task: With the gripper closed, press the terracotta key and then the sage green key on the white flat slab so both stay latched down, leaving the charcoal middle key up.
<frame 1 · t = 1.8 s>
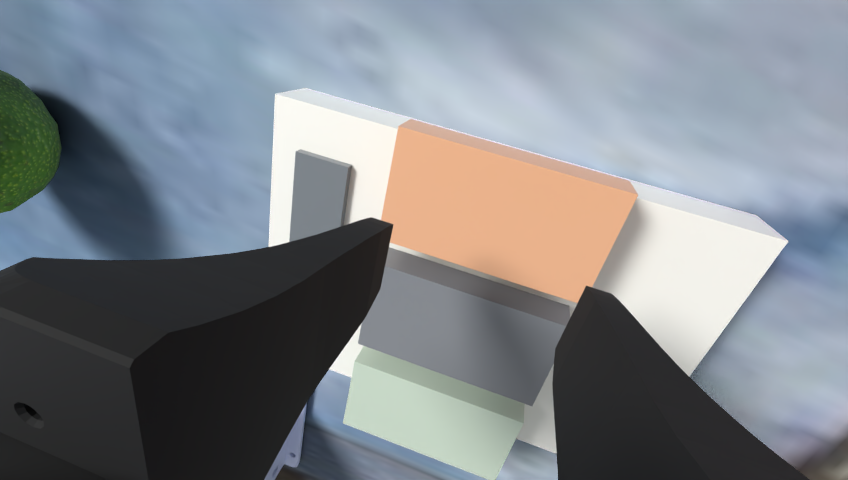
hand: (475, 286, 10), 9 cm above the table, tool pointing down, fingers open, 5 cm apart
key sage: (430, 410, 20), point 4 cm above the table, slide at 0.0 cm
key terracotta: (496, 211, 15), point 4 cm above the table, slide at 0.0 cm
key charcoal: (458, 325, 18), point 4 cm above the table, slide at 0.0 cm
white flat slab: (472, 278, 21), on the table
avocado: (50, 122, 24), on the table
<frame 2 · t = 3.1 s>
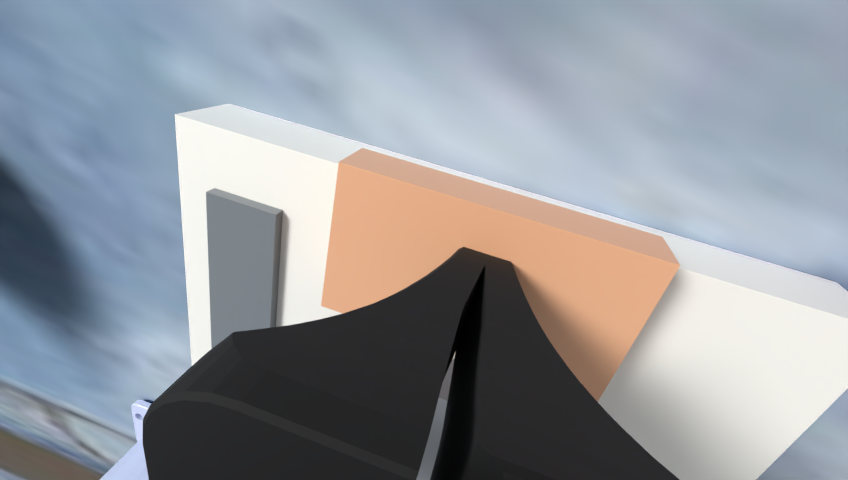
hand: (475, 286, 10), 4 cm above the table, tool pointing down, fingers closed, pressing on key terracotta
key terracotta: (478, 274, 11), point 3 cm above the table, slide at 0.7 cm, touching gripper
key charcoal: (427, 426, 13), point 4 cm above the table, slide at 0.0 cm
white flat slab: (451, 345, 17), on the table
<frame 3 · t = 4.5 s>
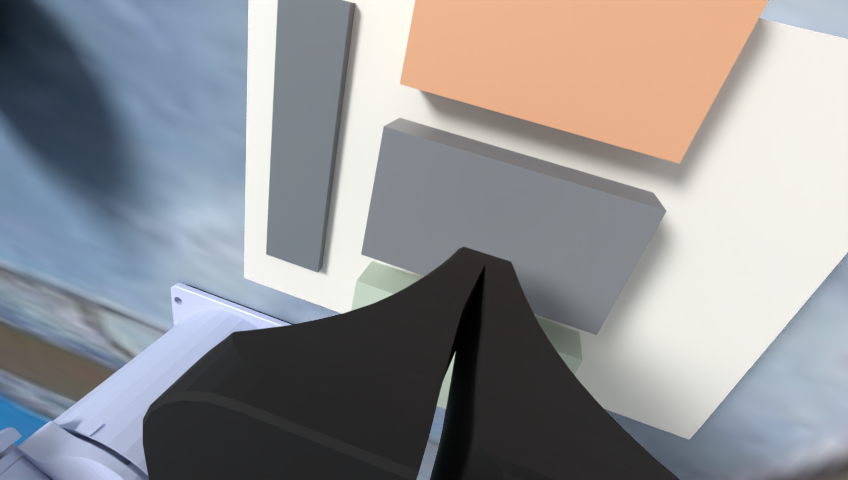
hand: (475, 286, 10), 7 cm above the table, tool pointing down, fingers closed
key sage: (453, 351, 16), point 4 cm above the table, slide at 0.0 cm
key terracotta: (562, 36, 11), point 3 cm above the table, slide at 0.8 cm, touching white flat slab
key charcoal: (497, 225, 13), point 4 cm above the table, slide at 0.0 cm
white flat slab: (507, 186, 17), on the table
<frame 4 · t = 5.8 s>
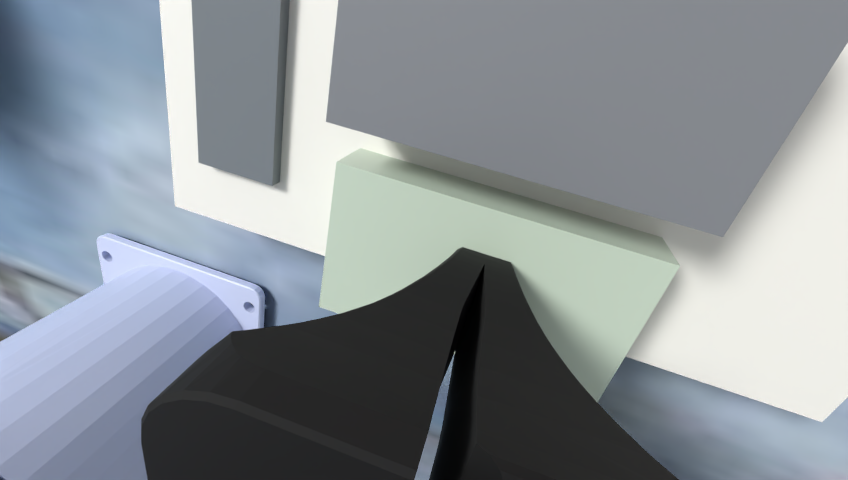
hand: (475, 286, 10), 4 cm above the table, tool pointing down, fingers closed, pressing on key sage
key sage: (477, 274, 11), point 3 cm above the table, slide at 0.8 cm, touching gripper, white flat slab
key charcoal: (551, 55, 8), point 4 cm above the table, slide at 0.0 cm
white flat slab: (548, 51, 11), on the table
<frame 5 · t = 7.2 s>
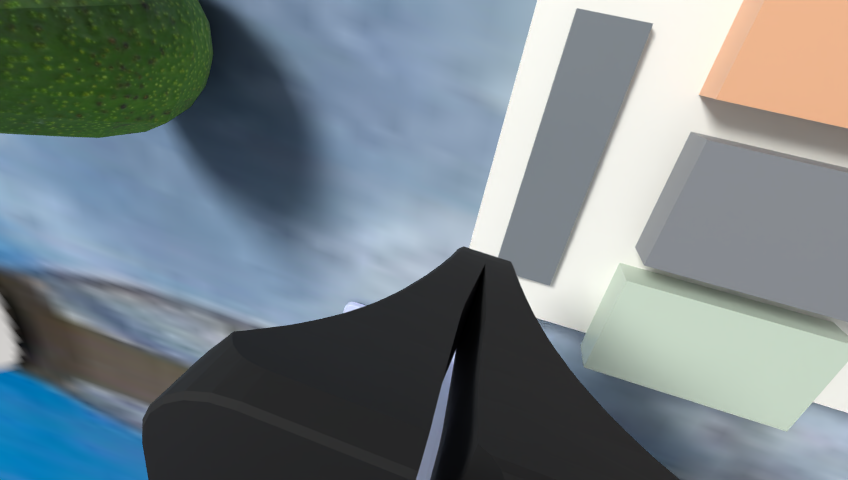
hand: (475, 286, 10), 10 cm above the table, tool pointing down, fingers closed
key sage: (702, 345, 17), point 3 cm above the table, slide at 0.8 cm
key charcoal: (794, 232, 13), point 4 cm above the table, slide at 0.0 cm
white flat slab: (740, 194, 17), on the table
avocado: (187, 34, 20), on the table
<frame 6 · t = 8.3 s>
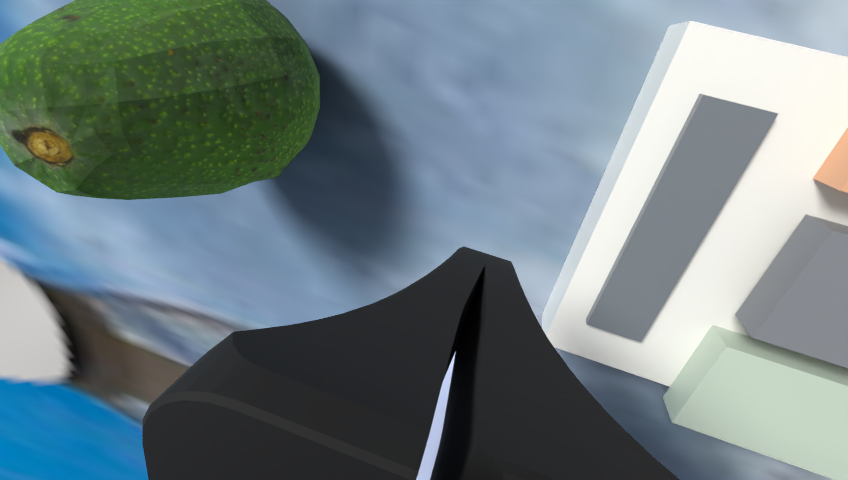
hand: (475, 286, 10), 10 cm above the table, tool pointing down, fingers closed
key sage: (790, 407, 17), point 3 cm above the table, slide at 0.8 cm
white flat slab: (828, 261, 18), on the table
avocado: (283, 81, 21), on the table
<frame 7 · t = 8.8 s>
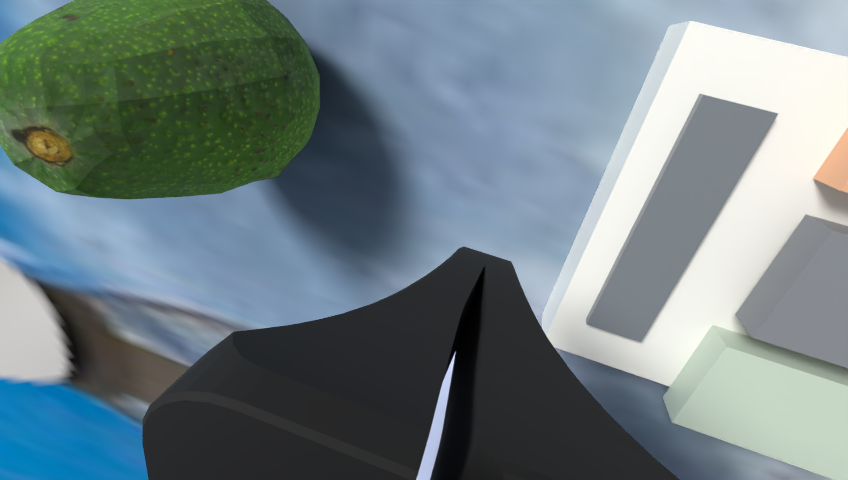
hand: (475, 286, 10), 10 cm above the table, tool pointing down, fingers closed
key sage: (790, 407, 17), point 3 cm above the table, slide at 0.8 cm
white flat slab: (828, 261, 18), on the table
avocado: (283, 81, 21), on the table
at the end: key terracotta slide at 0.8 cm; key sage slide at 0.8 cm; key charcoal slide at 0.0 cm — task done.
